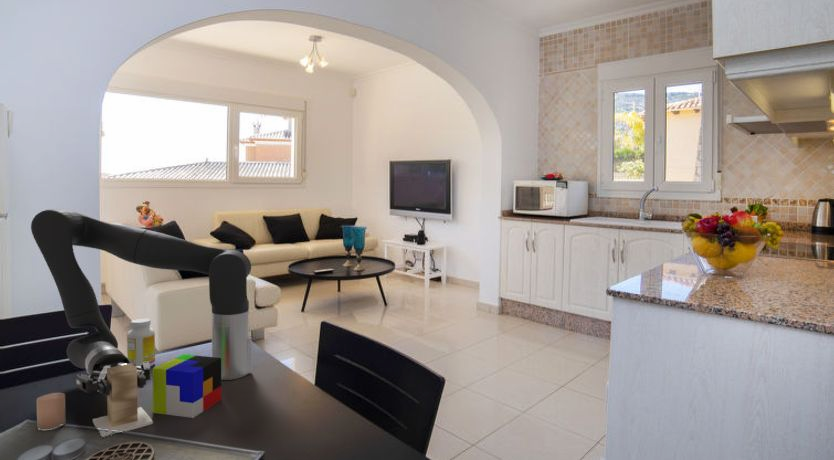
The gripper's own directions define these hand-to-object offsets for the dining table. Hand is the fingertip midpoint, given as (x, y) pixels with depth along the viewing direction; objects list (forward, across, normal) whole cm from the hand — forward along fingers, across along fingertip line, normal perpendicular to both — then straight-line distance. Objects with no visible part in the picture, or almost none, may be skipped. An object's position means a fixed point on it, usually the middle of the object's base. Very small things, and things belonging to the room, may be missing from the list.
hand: (125, 386), depth 97 cm
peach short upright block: (-11, -11, +8) cm, 17 cm away
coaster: (-3, 0, +8) cm, 9 cm away
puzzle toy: (-3, +13, +9) cm, 16 cm away
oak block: (-3, 0, +8) cm, 8 cm away
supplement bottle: (-38, +12, +9) cm, 40 cm away
